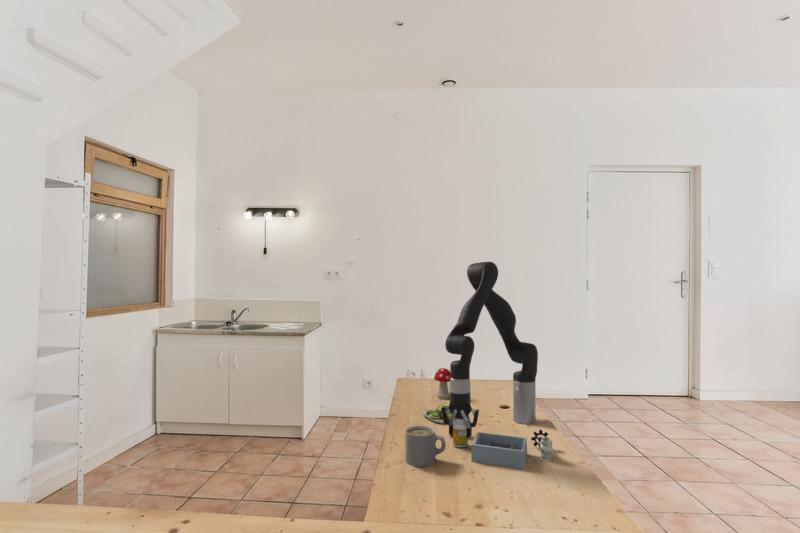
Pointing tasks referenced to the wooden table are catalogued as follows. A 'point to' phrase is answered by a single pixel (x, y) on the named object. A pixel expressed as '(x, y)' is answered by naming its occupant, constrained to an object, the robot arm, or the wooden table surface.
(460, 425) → the supplement bottle
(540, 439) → the valve
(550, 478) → the wooden table surface
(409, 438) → the coffee mug
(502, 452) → the walled box
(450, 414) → the salad plate
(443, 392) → the decorative mushroom
